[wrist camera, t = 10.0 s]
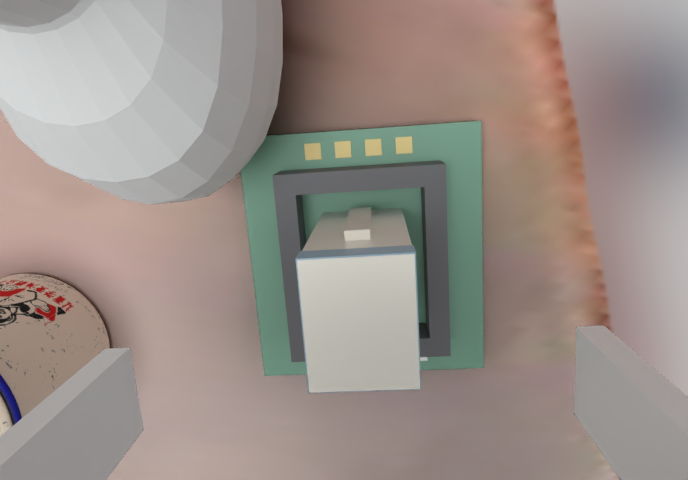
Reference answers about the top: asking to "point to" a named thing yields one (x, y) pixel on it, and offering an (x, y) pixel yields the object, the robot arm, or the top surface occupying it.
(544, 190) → the top surface
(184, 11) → the white round bottle
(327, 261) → the plug
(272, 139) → the header board
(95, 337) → the teacup with lid
